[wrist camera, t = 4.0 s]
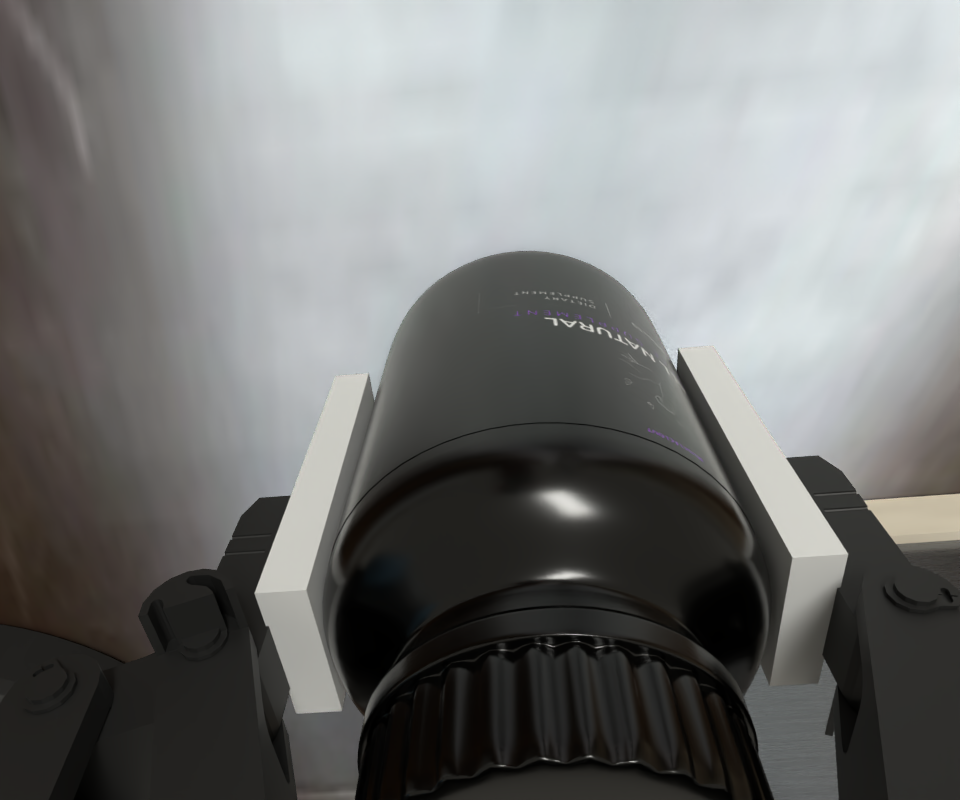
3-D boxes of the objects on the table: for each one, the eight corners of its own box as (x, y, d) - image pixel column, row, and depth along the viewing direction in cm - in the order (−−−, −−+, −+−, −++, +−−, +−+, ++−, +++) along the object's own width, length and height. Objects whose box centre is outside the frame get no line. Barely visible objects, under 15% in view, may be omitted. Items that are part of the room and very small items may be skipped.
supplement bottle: (659, 224, 16) (990, 662, 6) (655, 467, 19) (856, 1018, 9) (360, 257, 16) (155, 724, 6) (408, 490, 20) (331, 1043, 9)
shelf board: (935, 862, 30) (955, 901, 28) (602, 877, 30) (607, 917, 29) (1103, 483, 20) (1147, 518, 18) (600, 518, 20) (608, 554, 19)
